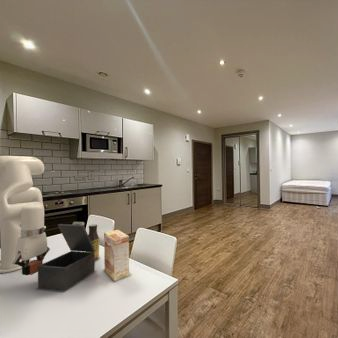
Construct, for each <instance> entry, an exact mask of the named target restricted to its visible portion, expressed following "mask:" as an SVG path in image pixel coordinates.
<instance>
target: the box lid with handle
mask: <svg viewBox="0 0 338 338" xmlns="http://www.w3.org/2000/svg"><path fill="white" fill-rule="evenodd" d="M85 224H86V223H85V222H84V221H73V222H72V224H65V223H64V224H63V223H59V224H57V227H58V229H59V231H60V232H61V235H62V237H63V239H64V240H65V242H66V245H67V246H68V248H69V250H70V251H79V252H95V249H94V247H93V245H92V243H91V241H90V238H89V236H88V234H89V233H88V232H87V230H86V227H85Z"/></svg>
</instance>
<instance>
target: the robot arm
mask: <svg viewBox="0 0 338 338" xmlns="http://www.w3.org/2000/svg"><path fill="white" fill-rule="evenodd" d="M44 173H45V164H44V162H43V161H42V160H41V159H39V158H37V157H35V156H21V155H0V274H7V273H11V272H15V271H18V270H21V275H22V276H30V275H29V274H30V266H28V264H29V262H30V261H32V260H31V259H34V258H35V259H36V260H41V261H42V264H44V262H43V260H45V257H46V255H47V254H48V253H49V251H51V248H50V247H49V246H48V238H47V234H46V232H45V230H46V229H47V226H46V225H45V206H44V201H43V200H44V199H43V194H42V191H41V189H39V188H38V187H34V181H33V177H32V176H39V175H42V174H44Z"/></svg>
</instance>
